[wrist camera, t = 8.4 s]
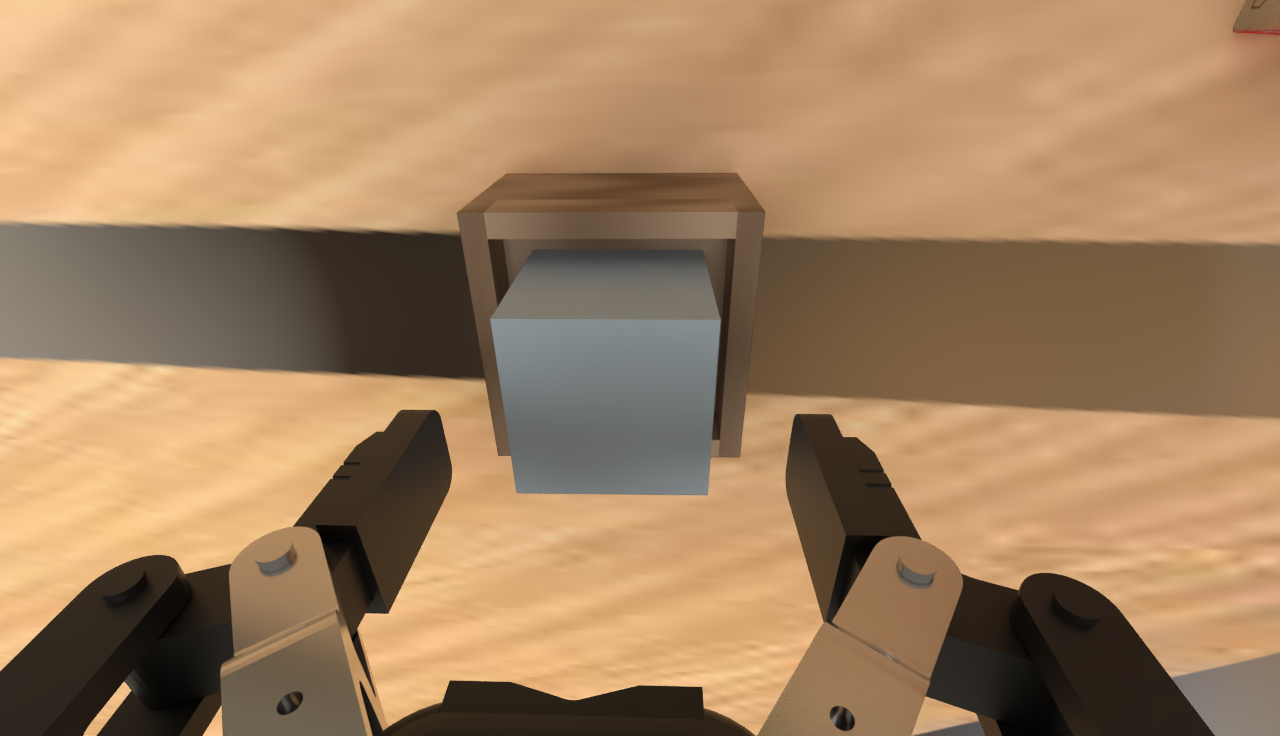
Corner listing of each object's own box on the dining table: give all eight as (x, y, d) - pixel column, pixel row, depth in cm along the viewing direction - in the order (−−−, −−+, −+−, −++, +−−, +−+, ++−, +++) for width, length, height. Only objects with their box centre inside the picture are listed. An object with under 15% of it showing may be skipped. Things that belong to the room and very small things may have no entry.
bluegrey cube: (702, 249, 16) (721, 319, 12) (695, 393, 19) (707, 495, 14) (533, 249, 16) (490, 318, 12) (548, 392, 19) (516, 493, 14)
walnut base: (736, 172, 19) (765, 212, 14) (721, 373, 23) (739, 457, 18) (506, 174, 19) (457, 212, 14) (530, 373, 23) (498, 455, 18)
